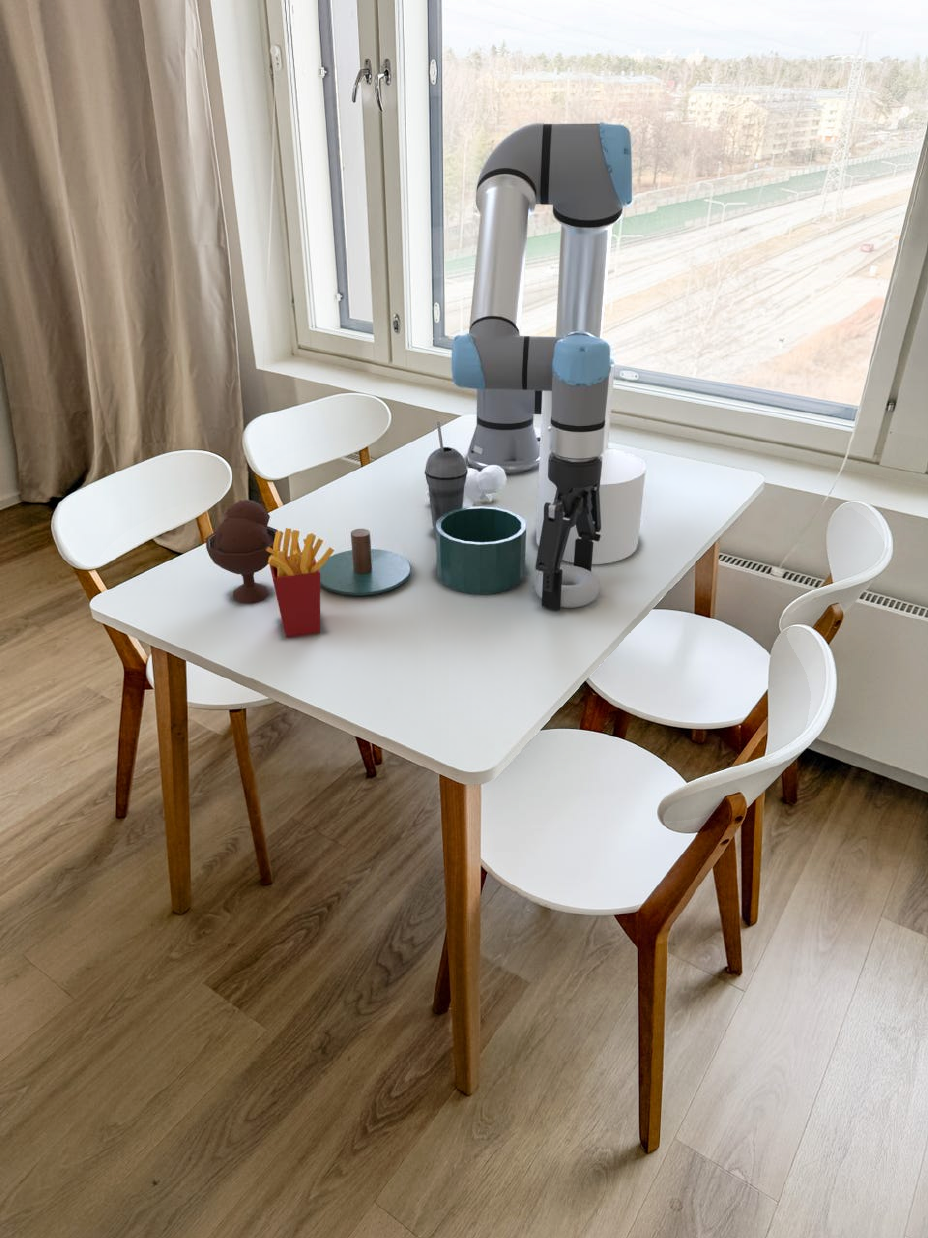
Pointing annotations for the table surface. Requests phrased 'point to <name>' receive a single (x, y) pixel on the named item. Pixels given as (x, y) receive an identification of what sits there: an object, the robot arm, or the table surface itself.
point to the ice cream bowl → (243, 547)
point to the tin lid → (363, 568)
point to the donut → (574, 586)
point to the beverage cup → (445, 480)
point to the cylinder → (600, 493)
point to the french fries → (297, 582)
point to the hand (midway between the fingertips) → (566, 592)
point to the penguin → (482, 484)
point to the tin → (480, 549)
